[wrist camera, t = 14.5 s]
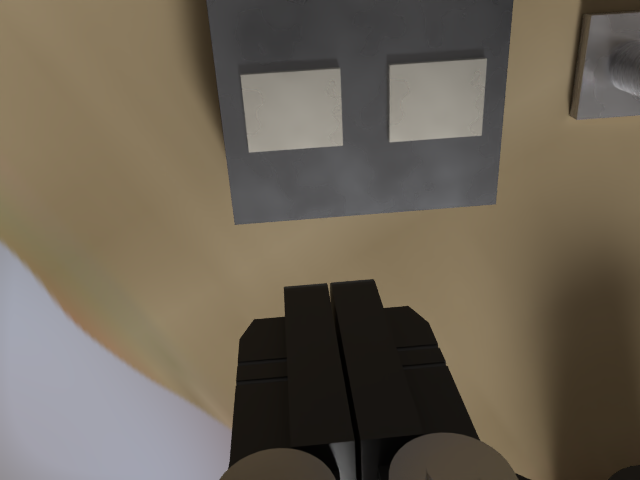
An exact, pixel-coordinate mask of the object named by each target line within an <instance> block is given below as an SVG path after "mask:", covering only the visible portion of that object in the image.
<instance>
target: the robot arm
mask: <svg viewBox="0 0 640 480" xmlns="http://www.w3.org/2000/svg"><path fill="white" fill-rule="evenodd" d="M330 299H331V302H330ZM284 302H285V317H276V318H265V319H254V320H253V322H252V323H251V324H250V326H249V327H248V329H247V330H246V331H245V333H244V334H243V335H242V337H241V338H240V341H239V353H238V366H237V378H236V384H237V386H236V390H235V402H234V414H233V427H232V440H231V451H230V462H229V468H228V470H227V471H226V472H225V473H224V474H223V476H222V477H221V478H220V480H530V479H527V478H525V477H523V476H521V475H519V474H516V473H515V472H514V471H513V469H512V468H511V466H510V465H509V463H508V462H507V461H506V459H505V458H504V457H503V456H502V455H501V454H500V453H498V452H497V451H496V450H495V449H493V448H492V447H490V446H489V445H487V444H485V443H484V442H482V441H480V439H479V437H478V435H477V433H476V430H475V428H474V426H473V424H472V421H471V419H470V417H469V414H468V412H467V410H466V407H465V405H464V403H463V401H462V398H461V396H460V394H459V391H458V389H457V387H456V384H455V382H454V380H453V378H452V375H451V373H450V371H449V368H448V366H446V361H445V359H444V357H443V355H442V352H441V350H440V348H438V343H437V341H436V338H435V336H434V334H433V332H432V329H431V327H430V325H429V323H428V322H427V321H426V320H425V319H424V318H422V317H421V316H420V315H419V314H417V313H416V312H415V311H414V310H413V309H411V308H410V307H409V306H403V307H391V308H383V305H382V302H381V299H380V296H379V293H378V289H377V286H376V283H375V281H374V280H373V279H370V280H358V281H346V282H334V283H330V296H329V291H328V285H327V283H324V284H312V285H300V286H288V287H284ZM608 480H640V465H636V466H630V467H627V468H624V469H621V470H620V471H618V472H616V473H615V474H613V475H612V476H611V477H610V478H609V479H608Z"/></svg>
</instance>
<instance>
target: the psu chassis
mask: <svg viewBox="0 0 640 480" xmlns="http://www.w3.org/2000/svg"><path fill="white" fill-rule="evenodd" d="M206 1H207V9H208V17H209V25H210V33H211V41H212V49H213V56H214V64H215V72H216V80H217V88H218V96H219V104H220V112H221V119H222V127H223V135H224V143H225V151H226V159H227V167H228V174H229V182H230V190H231V198H232V206H233V214H234V222H235V225H238V224H250V223H263V222H276V221H289V220H301V219H314V218H327V217H339V216H352V215H365V214H378V213H390V212H403V211H416V210H429V209H441V208H454V207H467V206H480V205H492V204H496V195H497V184H498V172H499V161H500V149H501V137H502V126H503V114H504V102H505V91H506V79H507V68H508V56H509V44H510V33H511V21H512V10H513V0H206Z"/></svg>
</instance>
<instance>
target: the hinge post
mask: <svg viewBox="0 0 640 480" xmlns="http://www.w3.org/2000/svg"><path fill="white" fill-rule="evenodd" d="M635 115H640V11H624V12H608V13H593V14H583V21H582V28H581V35H580V43H579V50H578V57H577V65H576V72H575V79H574V87H573V94H572V101H571V109H570V116H571V117H572V118H574V119H576V120H580V119H594V118H608V117H622V116H635Z"/></svg>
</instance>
